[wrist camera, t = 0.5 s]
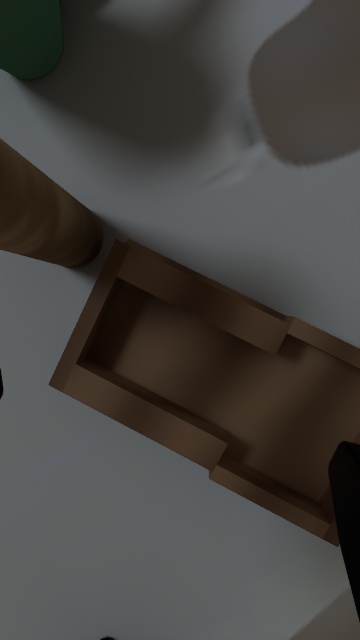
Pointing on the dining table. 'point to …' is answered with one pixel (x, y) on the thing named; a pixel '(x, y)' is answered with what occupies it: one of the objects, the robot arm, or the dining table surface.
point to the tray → (217, 381)
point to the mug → (30, 37)
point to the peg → (43, 216)
